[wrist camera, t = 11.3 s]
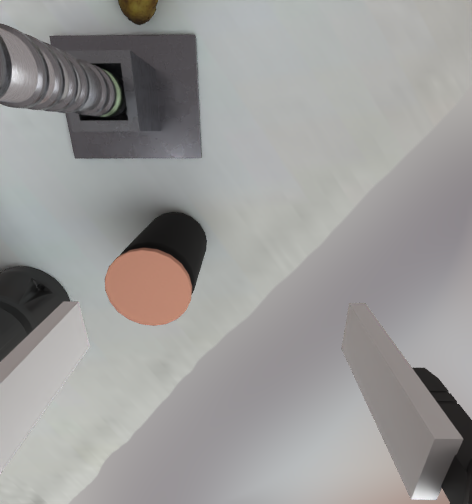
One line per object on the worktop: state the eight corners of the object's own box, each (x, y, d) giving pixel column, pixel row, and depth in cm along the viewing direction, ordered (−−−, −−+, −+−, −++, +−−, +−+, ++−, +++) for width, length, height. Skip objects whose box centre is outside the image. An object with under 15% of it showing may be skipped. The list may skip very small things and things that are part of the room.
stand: (78, 157, 47) (31, 165, 36) (53, 38, 40) (-11, 6, 30) (201, 157, 46) (190, 164, 36) (196, 36, 40) (180, 4, 30)
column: (97, 118, 38) (-75, 102, 17) (89, 73, 36) (-115, -4, 15) (135, 118, 38) (8, 102, 17) (129, 73, 36) (-22, -5, 15)
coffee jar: (144, 210, 50) (95, 250, 33) (205, 209, 50) (187, 249, 33) (152, 266, 54) (113, 326, 37) (209, 265, 54) (195, 325, 37)
